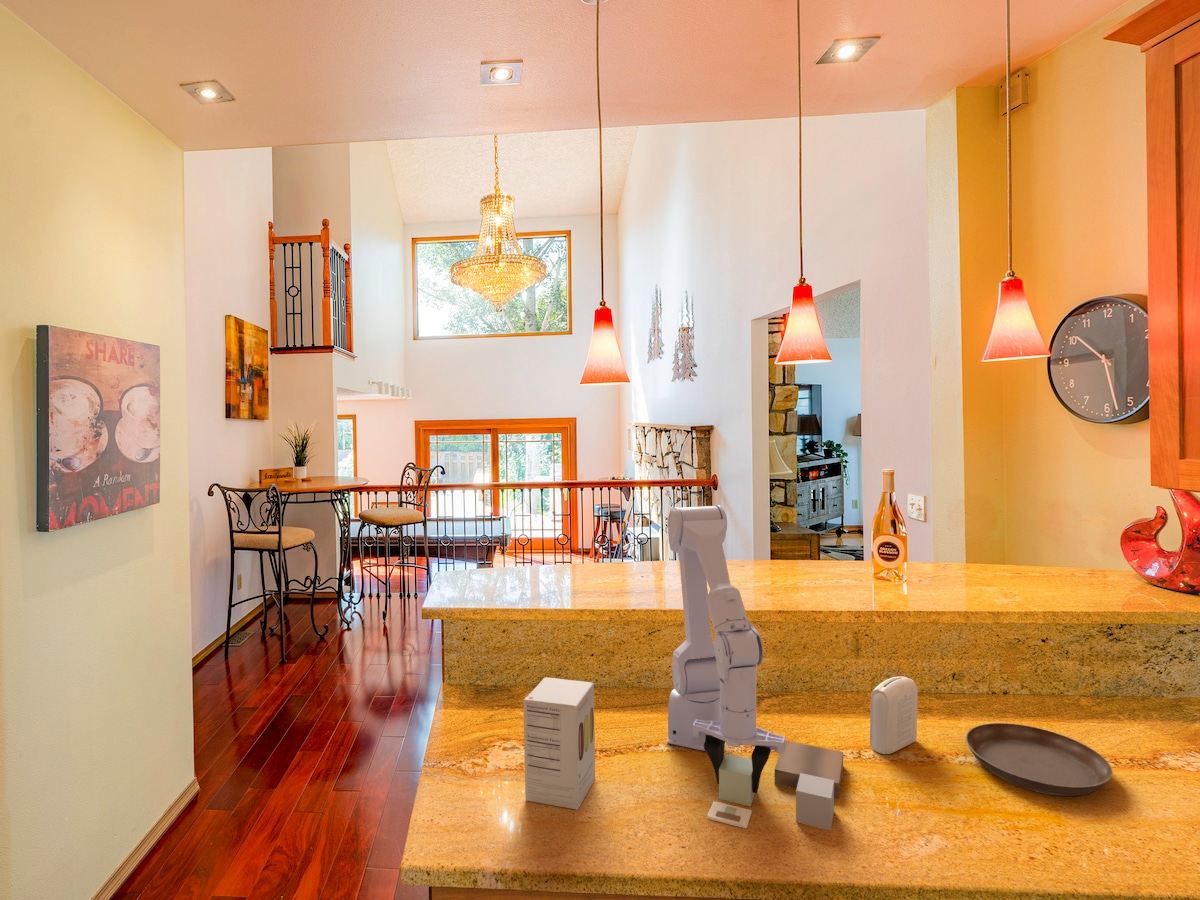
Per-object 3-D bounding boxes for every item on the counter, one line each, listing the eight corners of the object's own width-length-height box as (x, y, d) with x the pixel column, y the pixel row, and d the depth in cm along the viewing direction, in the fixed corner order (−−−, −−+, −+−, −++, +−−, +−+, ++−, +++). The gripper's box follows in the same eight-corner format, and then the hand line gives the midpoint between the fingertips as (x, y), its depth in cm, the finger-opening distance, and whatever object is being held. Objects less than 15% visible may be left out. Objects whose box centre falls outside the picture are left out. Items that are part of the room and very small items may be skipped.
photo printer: (898, 731, 123) (899, 668, 122) (920, 741, 119) (921, 676, 118) (865, 748, 117) (866, 682, 116) (887, 758, 113) (889, 690, 113)
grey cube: (795, 822, 97) (796, 790, 96) (800, 803, 101) (800, 773, 101) (831, 830, 95) (831, 798, 94) (833, 811, 99) (834, 780, 99)
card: (707, 818, 98) (707, 815, 98) (713, 803, 101) (713, 800, 101) (746, 828, 95) (746, 825, 95) (751, 812, 99) (751, 809, 99)
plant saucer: (955, 730, 123) (955, 714, 123) (1083, 748, 116) (1084, 730, 116) (979, 792, 104) (979, 773, 103) (1135, 818, 97) (1136, 797, 97)
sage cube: (719, 799, 103) (718, 768, 102) (726, 781, 107) (726, 753, 107) (750, 806, 101) (750, 776, 100) (756, 788, 105) (756, 759, 105)
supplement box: (578, 811, 100) (576, 707, 99) (523, 802, 103) (521, 700, 101) (596, 777, 109) (595, 681, 108) (546, 769, 112) (543, 675, 111)
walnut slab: (774, 786, 106) (774, 769, 106) (783, 756, 116) (783, 740, 115) (838, 801, 102) (838, 783, 102) (843, 768, 111) (843, 752, 111)
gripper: (687, 706, 102) (687, 788, 103) (780, 724, 96) (780, 810, 97) (699, 688, 109) (699, 765, 110) (787, 703, 103) (787, 785, 104)
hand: (738, 785), depth 104 cm, fingers closed on sage cube, 5 cm apart
